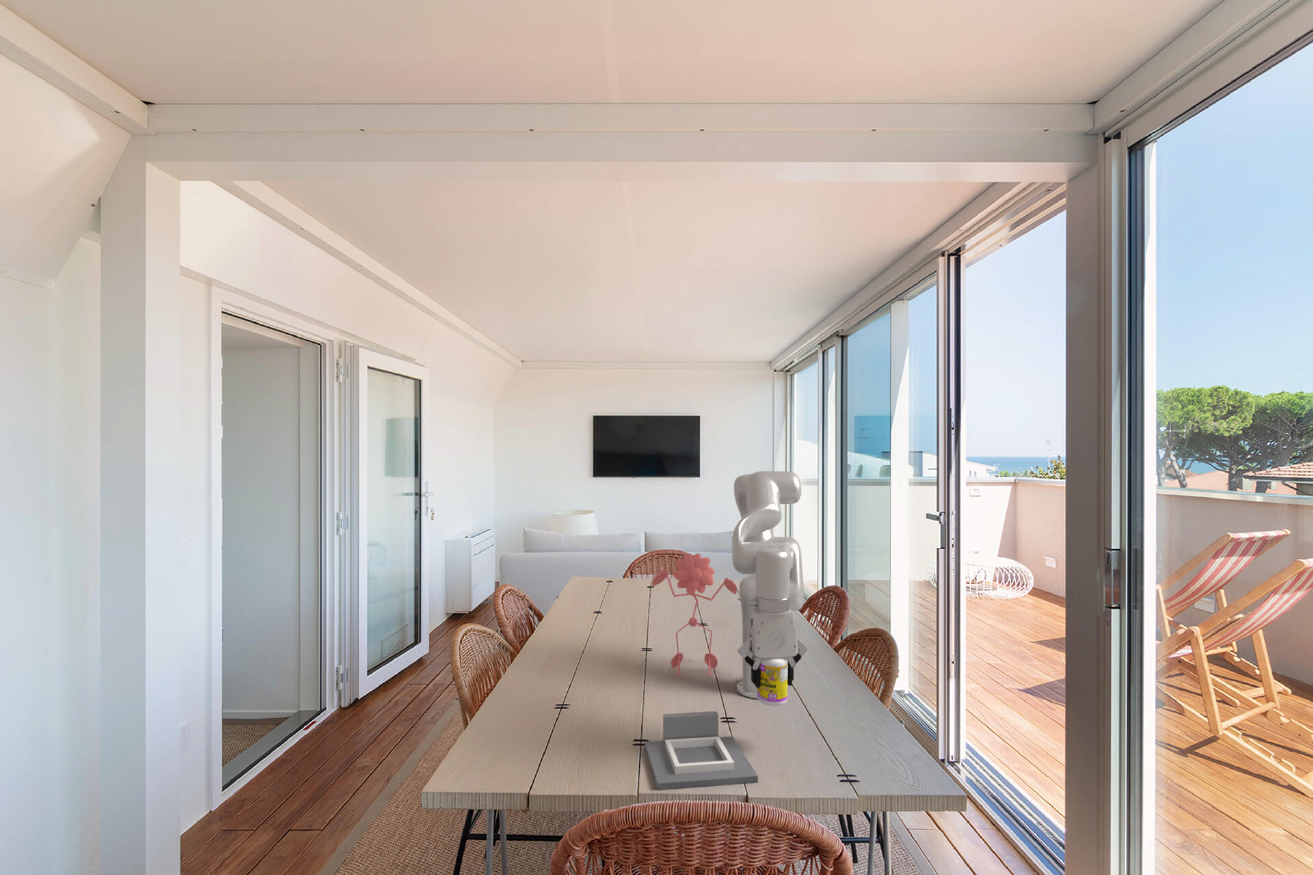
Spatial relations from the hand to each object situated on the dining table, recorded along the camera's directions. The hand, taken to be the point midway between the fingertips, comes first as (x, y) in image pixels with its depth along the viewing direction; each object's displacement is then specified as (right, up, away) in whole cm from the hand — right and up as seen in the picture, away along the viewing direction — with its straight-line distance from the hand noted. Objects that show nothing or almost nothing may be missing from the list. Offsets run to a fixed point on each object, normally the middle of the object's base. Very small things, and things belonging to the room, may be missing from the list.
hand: (772, 683), depth 139 cm
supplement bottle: (0, -4, 0) cm, 4 cm away
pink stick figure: (-14, -16, +51) cm, 55 cm away
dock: (-17, -13, -9) cm, 23 cm away
